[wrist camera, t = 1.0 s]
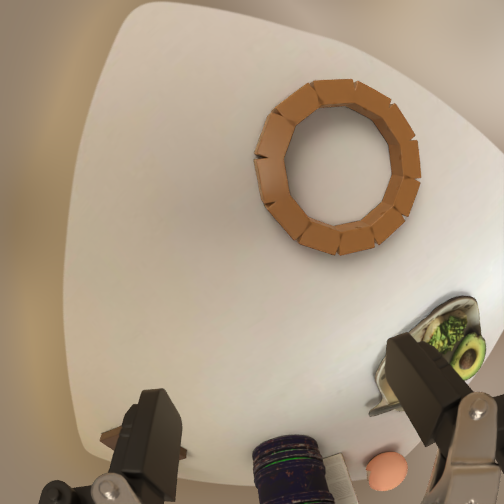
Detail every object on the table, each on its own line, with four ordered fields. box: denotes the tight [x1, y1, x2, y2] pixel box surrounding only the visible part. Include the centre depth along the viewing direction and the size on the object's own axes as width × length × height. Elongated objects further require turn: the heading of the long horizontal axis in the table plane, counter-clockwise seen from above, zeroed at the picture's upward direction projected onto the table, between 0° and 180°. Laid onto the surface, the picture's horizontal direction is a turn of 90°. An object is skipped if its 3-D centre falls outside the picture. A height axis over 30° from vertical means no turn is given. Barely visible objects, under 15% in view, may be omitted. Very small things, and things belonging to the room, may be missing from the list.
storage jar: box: [252, 435, 335, 504], centre depth 28 cm, size 10×10×15 cm
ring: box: [254, 79, 421, 256], centre depth 22 cm, size 14×14×2 cm
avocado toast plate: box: [369, 296, 486, 417], centre depth 30 cm, size 19×18×5 cm
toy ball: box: [366, 452, 408, 491], centre depth 36 cm, size 8×8×8 cm
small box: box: [323, 453, 359, 504], centre depth 33 cm, size 8×6×10 cm
